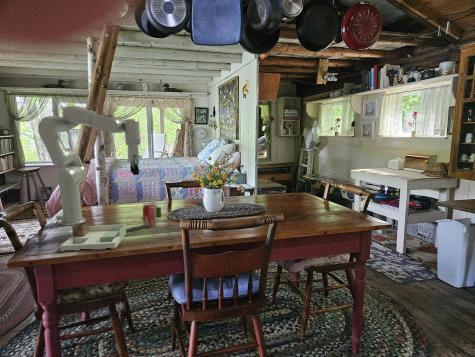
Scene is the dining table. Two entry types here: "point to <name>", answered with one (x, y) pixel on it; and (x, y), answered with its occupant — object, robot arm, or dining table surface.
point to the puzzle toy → (158, 211)
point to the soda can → (149, 214)
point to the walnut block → (80, 229)
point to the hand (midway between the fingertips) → (134, 173)
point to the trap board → (97, 238)
